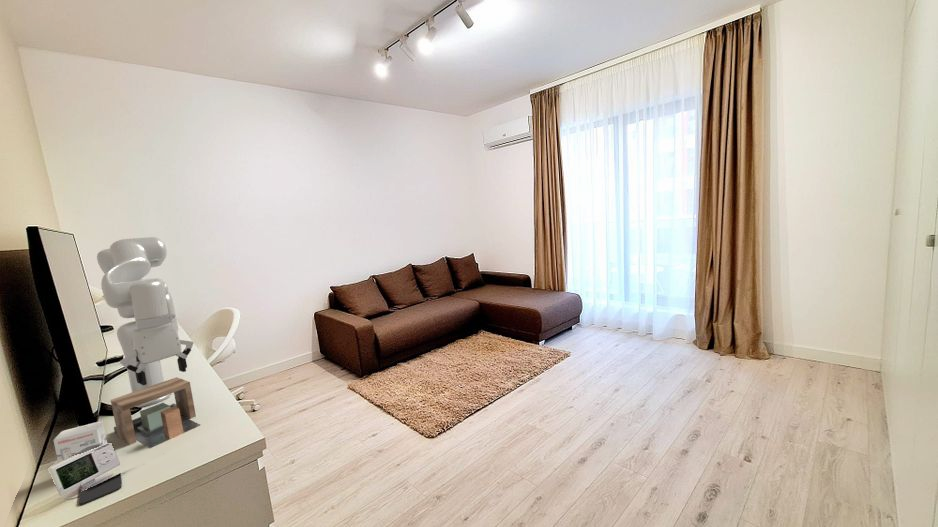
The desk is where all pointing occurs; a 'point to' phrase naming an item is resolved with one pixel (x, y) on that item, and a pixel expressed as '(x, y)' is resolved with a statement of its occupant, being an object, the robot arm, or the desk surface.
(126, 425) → the tunnel
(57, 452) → the ink box
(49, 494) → the desk surface
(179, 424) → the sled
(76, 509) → the desk surface
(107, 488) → the phone
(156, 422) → the sage block
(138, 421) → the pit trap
